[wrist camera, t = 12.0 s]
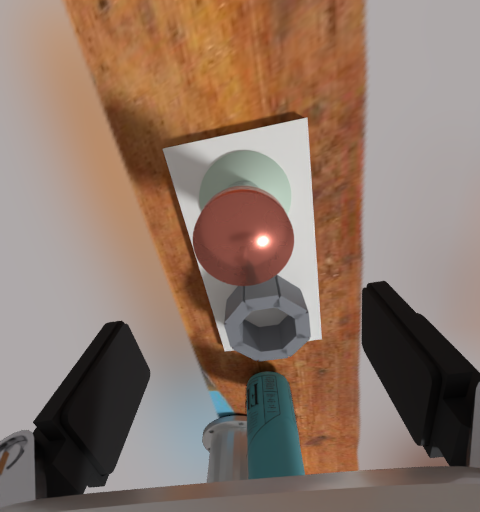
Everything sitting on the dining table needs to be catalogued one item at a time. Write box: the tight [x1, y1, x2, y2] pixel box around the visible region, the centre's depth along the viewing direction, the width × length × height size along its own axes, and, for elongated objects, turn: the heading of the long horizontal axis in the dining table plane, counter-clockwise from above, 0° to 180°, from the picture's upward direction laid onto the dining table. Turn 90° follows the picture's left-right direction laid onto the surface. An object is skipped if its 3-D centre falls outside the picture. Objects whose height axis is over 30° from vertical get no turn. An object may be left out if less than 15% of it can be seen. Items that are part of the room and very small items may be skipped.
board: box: [163, 118, 322, 361], centre depth 27 cm, size 26×13×5 cm, turn 11°
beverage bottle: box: [245, 372, 305, 480], centre depth 30 cm, size 6×7×20 cm
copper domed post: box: [193, 180, 294, 286], centre depth 21 cm, size 6×6×10 cm
